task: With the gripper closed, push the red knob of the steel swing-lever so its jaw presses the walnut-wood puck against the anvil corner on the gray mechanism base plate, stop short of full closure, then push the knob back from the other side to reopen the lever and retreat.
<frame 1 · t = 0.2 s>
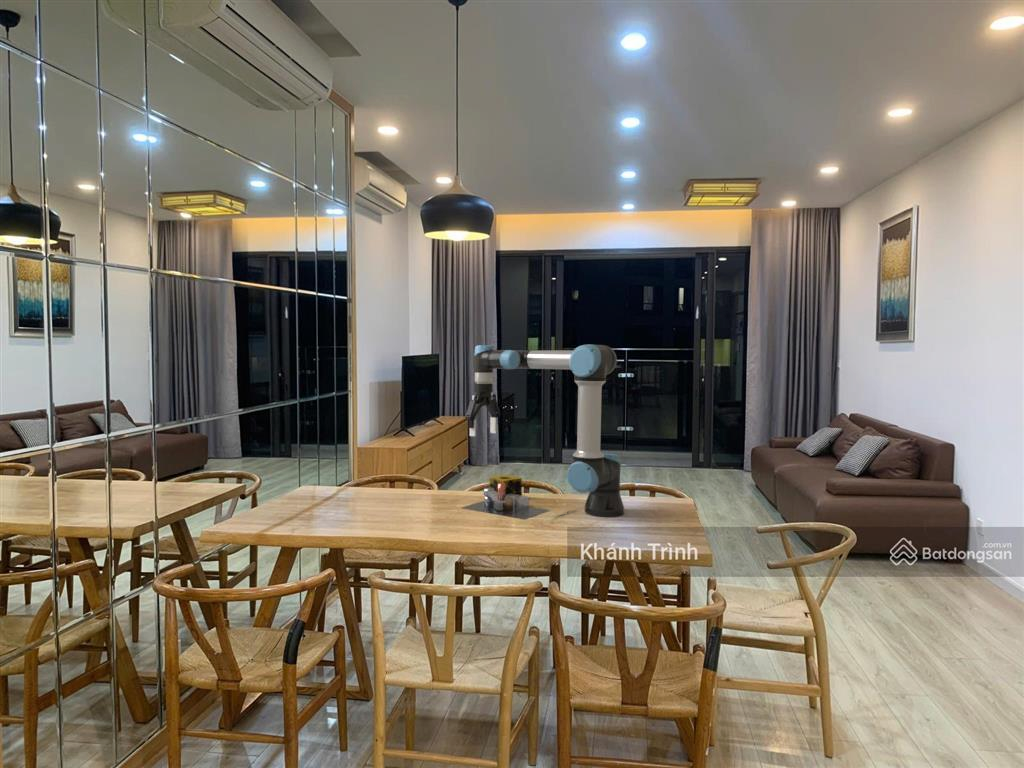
hand: (483, 434, 273), 28 cm above the table, fingers open, 13 cm apart
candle: (505, 501, 276), on the table
gray mechanism base plate: (505, 512, 255), on the table
lever: (495, 494, 253), point 8 cm above the table, hinge at -35.0°
walnut: (507, 508, 256), point 1 cm above the table, touching gray mechanism base plate
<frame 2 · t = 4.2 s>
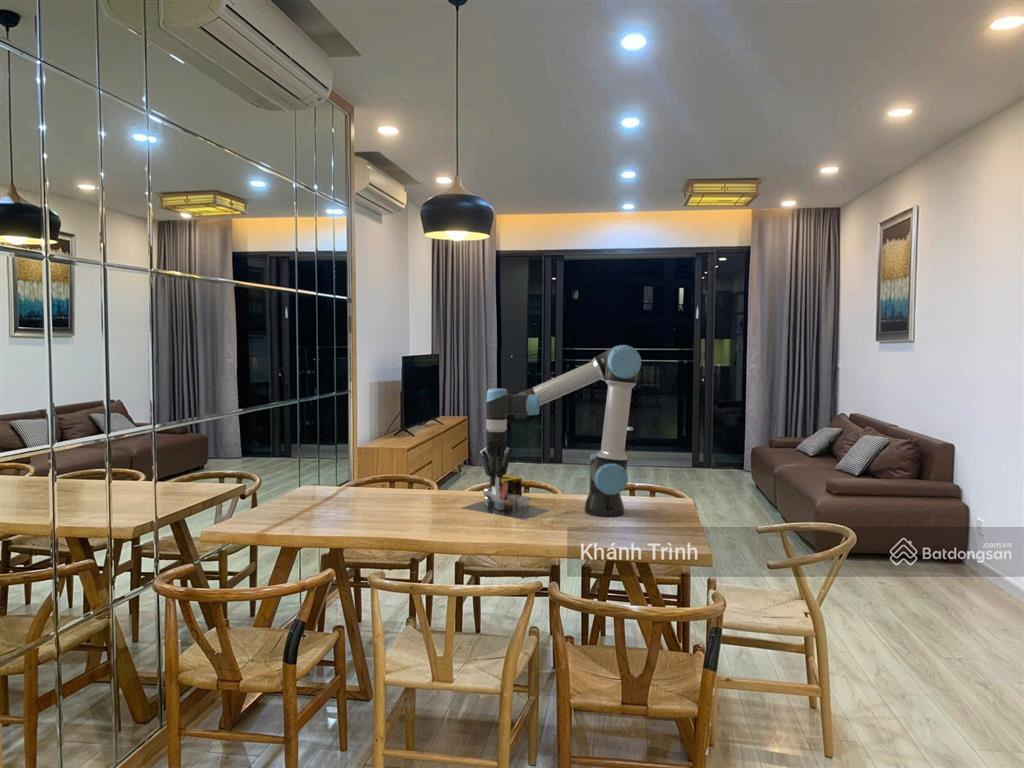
hand: (495, 494, 244), 9 cm above the table, fingers closed
lever: (496, 494, 253), point 8 cm above the table, hinge at -31.2°, touching gripper
everything else where it was.
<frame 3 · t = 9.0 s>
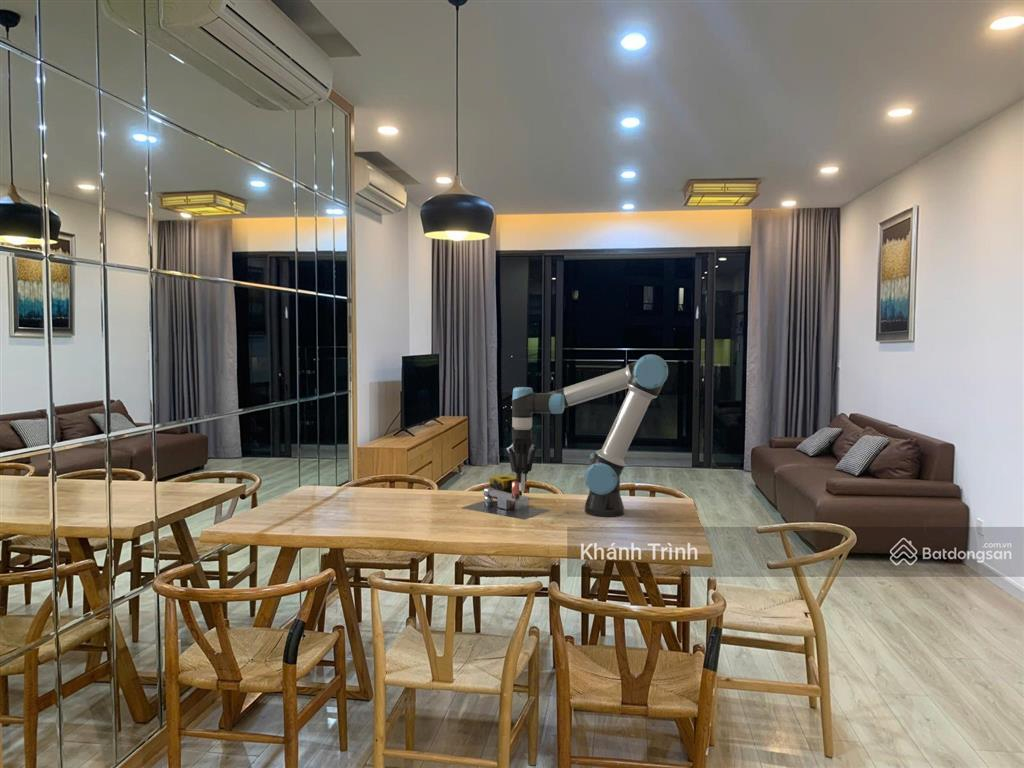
hand: (521, 490, 251), 10 cm above the table, fingers closed
lever: (501, 493, 254), point 8 cm above the table, hinge at -11.4°, touching gripper
walnut: (511, 507, 258), point 1 cm above the table, touching gray mechanism base plate
everything else where it was.
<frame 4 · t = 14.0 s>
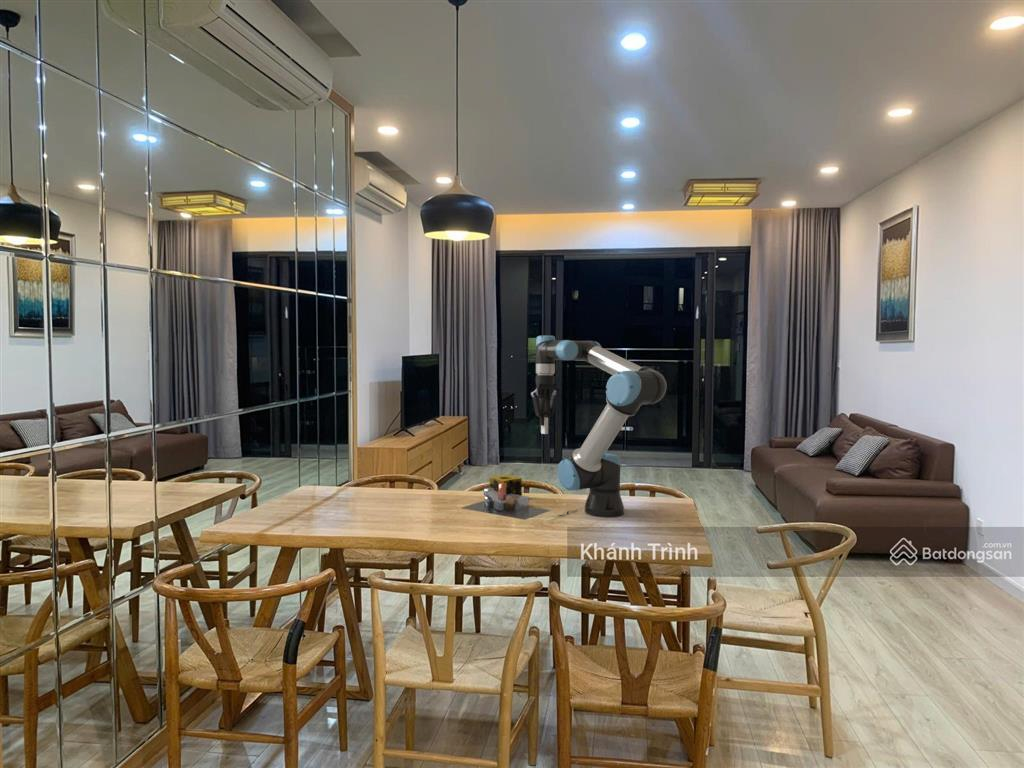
hand: (544, 433, 265), 29 cm above the table, fingers closed
lever: (495, 494, 253), point 8 cm above the table, hinge at -33.8°
everything else where it was.
at the end: walnut moved 2.4 cm from its start; walnut 0.9 cm from the target spot, point 1.5 cm above the table; lever at -34° (first picture: -35°) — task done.
